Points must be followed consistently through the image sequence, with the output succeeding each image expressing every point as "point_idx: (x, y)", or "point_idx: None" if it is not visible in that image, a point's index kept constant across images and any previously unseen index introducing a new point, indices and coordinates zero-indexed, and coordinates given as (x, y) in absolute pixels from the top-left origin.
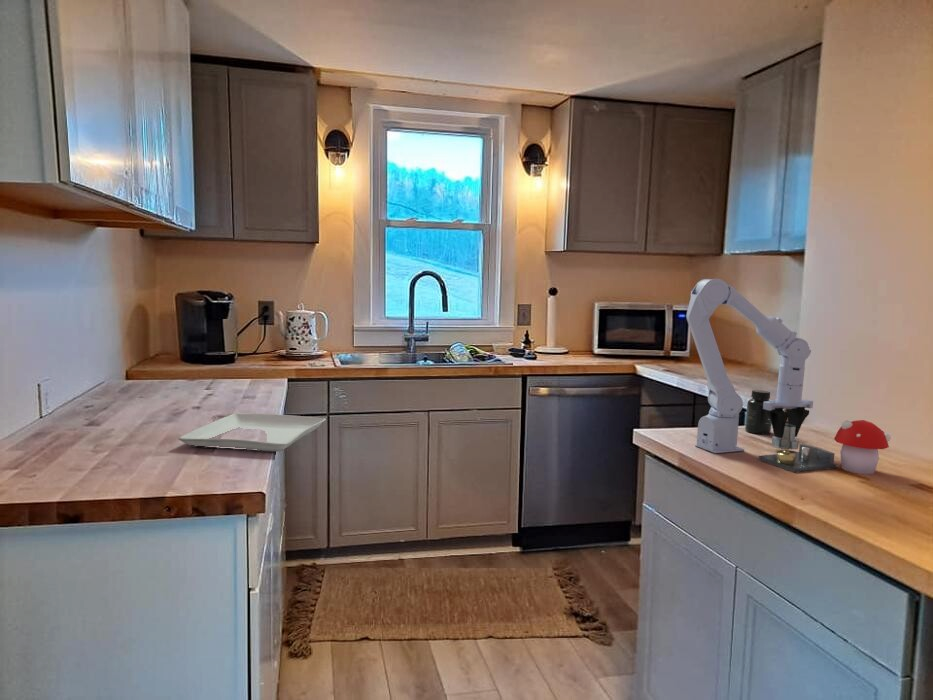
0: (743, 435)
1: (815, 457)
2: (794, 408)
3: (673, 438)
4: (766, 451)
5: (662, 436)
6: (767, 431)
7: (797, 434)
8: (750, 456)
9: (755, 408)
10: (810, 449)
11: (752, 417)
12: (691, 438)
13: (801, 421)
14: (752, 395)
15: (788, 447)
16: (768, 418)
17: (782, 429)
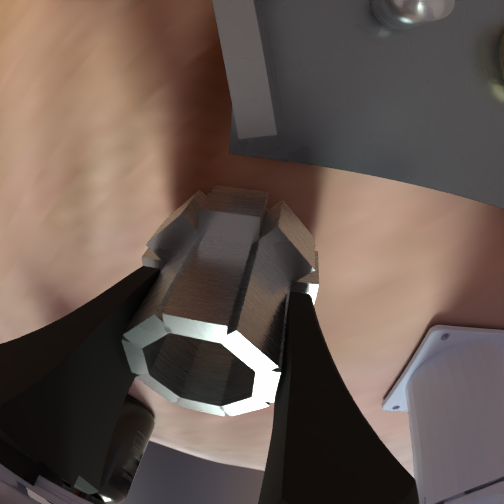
0: (198, 416)
1: (262, 3)
2: (53, 478)
3: None
4: (334, 284)
5: None
6: None
7: (134, 272)
8: (494, 261)
9: (119, 481)
10: (263, 35)
11: (135, 456)
12: (398, 443)
13: (60, 335)
14: None
15: (285, 209)
16: None
17: (314, 340)
